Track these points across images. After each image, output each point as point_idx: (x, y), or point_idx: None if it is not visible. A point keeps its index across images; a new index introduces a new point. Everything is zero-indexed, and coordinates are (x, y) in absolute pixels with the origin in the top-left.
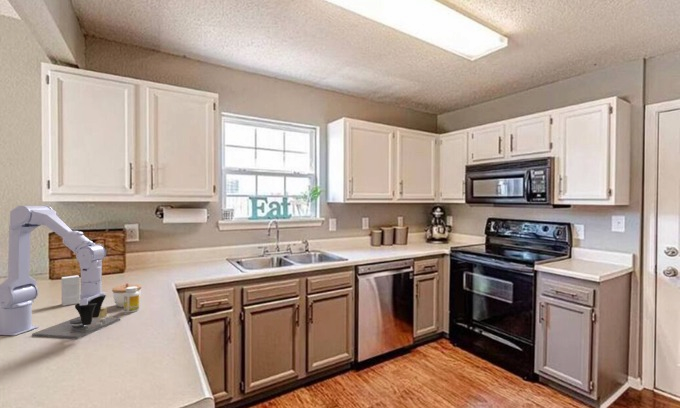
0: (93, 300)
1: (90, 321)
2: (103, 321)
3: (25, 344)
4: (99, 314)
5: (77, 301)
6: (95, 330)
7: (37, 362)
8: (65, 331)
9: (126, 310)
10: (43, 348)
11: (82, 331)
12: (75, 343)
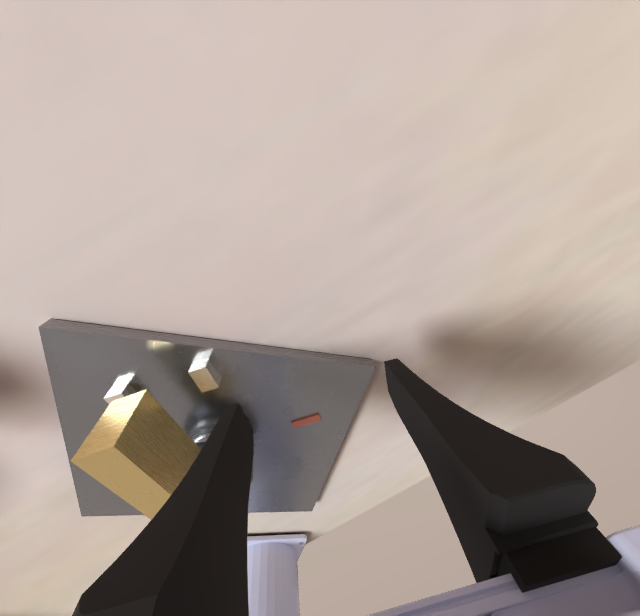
0: (223, 593)
1: (409, 370)
2: (138, 385)
3: (387, 469)
4: (160, 431)
5: None
6: (267, 347)
7: (582, 341)
8: (299, 444)
9: None
10: None
11: (307, 385)
12: (429, 332)
